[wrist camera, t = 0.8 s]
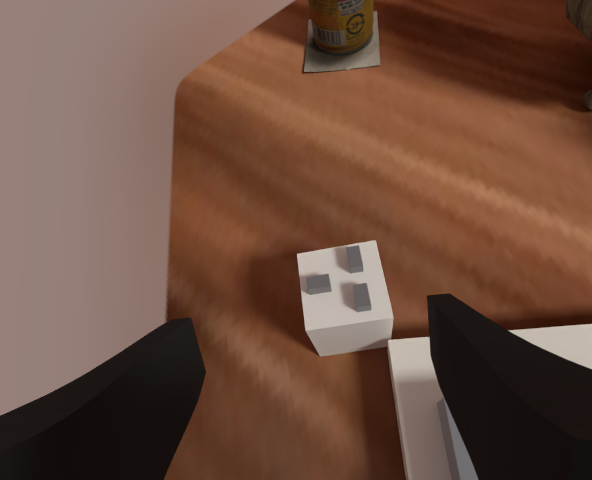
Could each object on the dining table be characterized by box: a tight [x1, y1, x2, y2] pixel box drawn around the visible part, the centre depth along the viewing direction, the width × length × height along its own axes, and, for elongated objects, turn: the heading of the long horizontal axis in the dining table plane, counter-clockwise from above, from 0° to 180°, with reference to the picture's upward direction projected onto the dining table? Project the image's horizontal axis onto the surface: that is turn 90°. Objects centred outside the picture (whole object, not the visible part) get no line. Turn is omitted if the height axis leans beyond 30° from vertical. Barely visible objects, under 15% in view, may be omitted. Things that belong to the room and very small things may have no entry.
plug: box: [297, 240, 393, 357], centre depth 23 cm, size 4×4×7 cm
